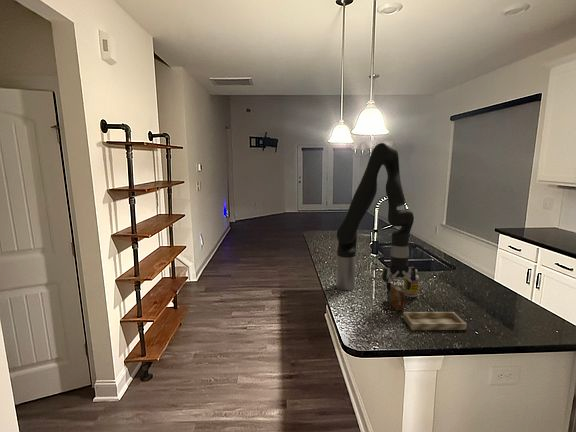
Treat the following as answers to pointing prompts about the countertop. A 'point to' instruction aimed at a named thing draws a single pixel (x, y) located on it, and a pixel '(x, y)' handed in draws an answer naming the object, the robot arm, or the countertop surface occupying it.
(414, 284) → the supplement bottle
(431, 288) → the countertop surface
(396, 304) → the tin
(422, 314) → the tray
